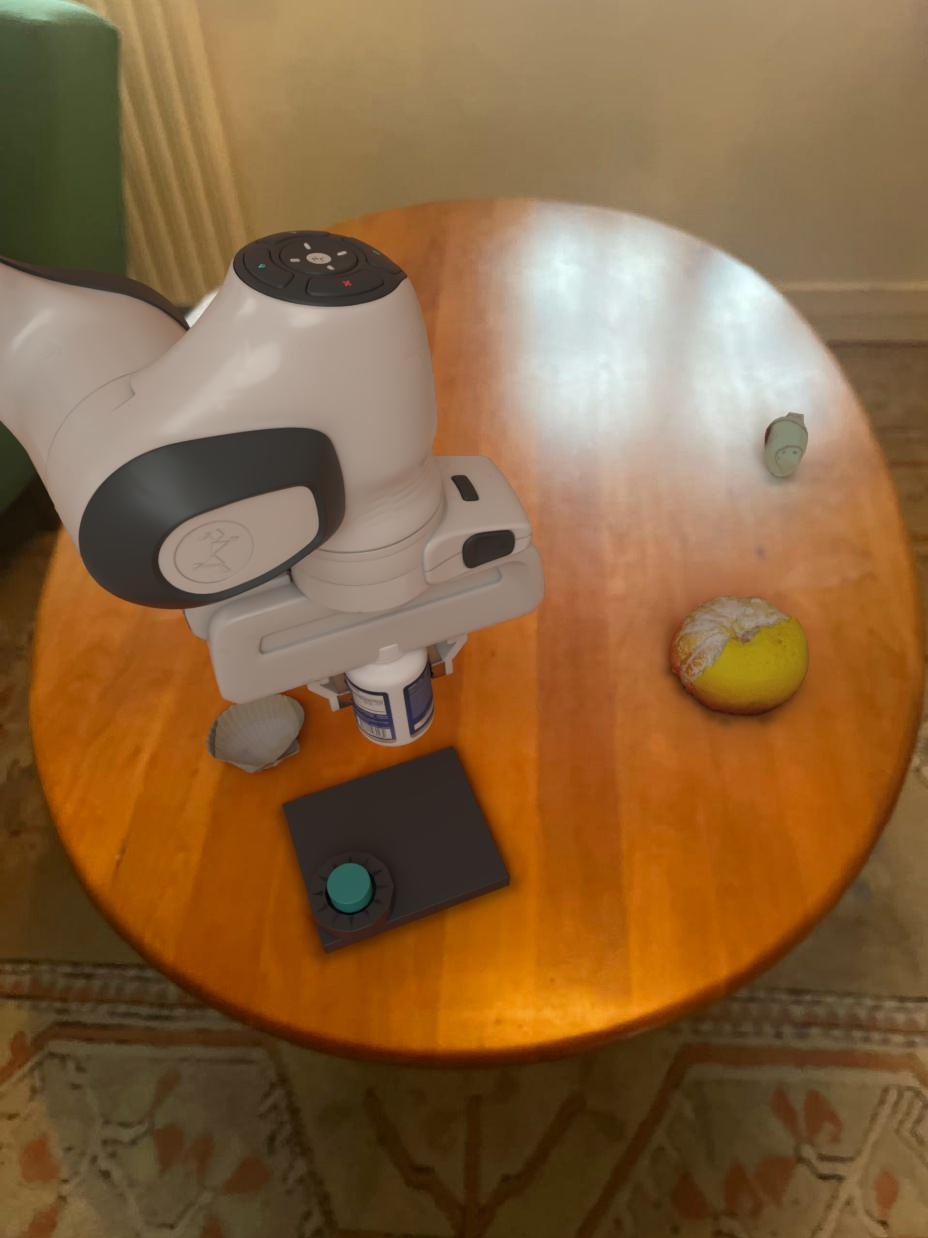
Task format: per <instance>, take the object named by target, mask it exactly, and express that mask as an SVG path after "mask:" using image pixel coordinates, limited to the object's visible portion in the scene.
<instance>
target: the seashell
mask: <svg viewBox="0 0 928 1238" xmlns="http://www.w3.org/2000/svg"><path fill="white" fill-rule="evenodd" d="M305 721H306V712H305V710H304V707H303V705H302V704H301V703H300V702H299V701H298V699H295V698H294V697H293V696H289V695H288V694H282V693H278V694H275V695H272V696H268V697H265V698H262V699H259V700H256V701H253V702H250V703H246V704H236V703H232V704H231V705H229V706H228V708H226V709H224V710H222V712H221V714H219V715H218V716H217V717H216V718H215V720H214V721H213V722H212V723H211V726H210V728H209V729H208V731H207V734H206V739H205V741H206V742H205V744H206V745H205V748H206V751H207V753H208V755H209V756H211V757H212V758H214V759H215V760H217V761H220V762H223V763H227V764H231V765H234V766H235V767H237V768H239V769H242V770H244V771H245V772H247V773H248V774H257V773H259V772H261V771H263V770H266V769H267V770H268V769H273V768H276V767H277V766H279V765H280V764H281V763H283V762H284V760H285V759H287V758H290V757H291V756H294V755H296V754H298V753H299V752H300V750H301V748H300V745H301V744H300V742H299V741H298V739H299V736H300V733H301V731H302V728H303V725H304V723H305Z"/></svg>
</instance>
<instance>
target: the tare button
mask: <svg viewBox="0 0 928 1238" xmlns="http://www.w3.org/2000/svg"><path fill="white" fill-rule="evenodd" d="M327 890H328V893H329V896H330V899H331V901H332V903H333V905H334V906H335V907H336V908H337V909H338V910H340V911H343V912H347V913H352V912H356V911H359V910H361V909H363V908H364V907H365V906H366V905H367V904H368V903H369V901H370V899H371V897H372V893H373V888H372V884H371V880H370V876H369V874H368V872H367V871H366V869H365V868H364V867H362V866H360V865H358V864H355V863H347V864H343V865H340V866H339V867H337V868H336V869H334V870H333V872H332V873H331V874H330V876H329V878H328V881H327Z"/></svg>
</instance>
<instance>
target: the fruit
mask: <svg viewBox="0 0 928 1238" xmlns="http://www.w3.org/2000/svg"><path fill="white" fill-rule="evenodd" d="M809 651H810V650H809V644H808V638H807V634H806V632H805V630H804V627H803V626H802V624H801V622H800V620H799V619H798V618H795V617H794V616H789V615H788V614H787V613H785V612H784V611H782V610H780V609H779V608H777V607H776V605H774V604H773V603H771V602H770V601H769V600H767V599H766V597H762V596H756V595H753V596H752V595H751V596H747V597H744V598H741V597H739V596H735V595H732V594H729V595H726V596H720V597H714V598H712V599H710V600H708V601H705V602H704V603H703V604H702V603H700V602H699V603H698V607H696V608H694V609H693V610H691V611H690V613H688V614H687V615H685V616H683V618H682V619H681V620H680V622H679V624H678V625H677V629H676V632H675V633H674V635H673V637H672V640H671V641H670V645H669V662H670V670H671V672H672V673H675V674H676V676H678V678H679V680H680V682H681V684H682V685H683V691H685V692H686V693H687V694H690V695H691V696H692V697H694V699H695V700H696V701H697V702H698V703H700V704H701V705H703V707H705V708H707V709H708V710H711V711H712V712H713V713H714V712H717V713H723V714H729V715H730V716H735V715H741V716H743V717H745V716H748V717H749V716H750V717H752V716H761V715H764V714H766V713H770V712H772V711H773V710H776V709H777V708H778V707H780V706H781V705H782V704H783V703H785V702H786V701H788V700H789V699H790V698H792V697H793V696H794V695H795V694H796V693H797V692H798V690H799V689H800V688H801V686H802V684H803V682H804V681H805V679H806V676H807V674H808V671H809V667H810V666H809V664H810V654H809Z"/></svg>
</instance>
